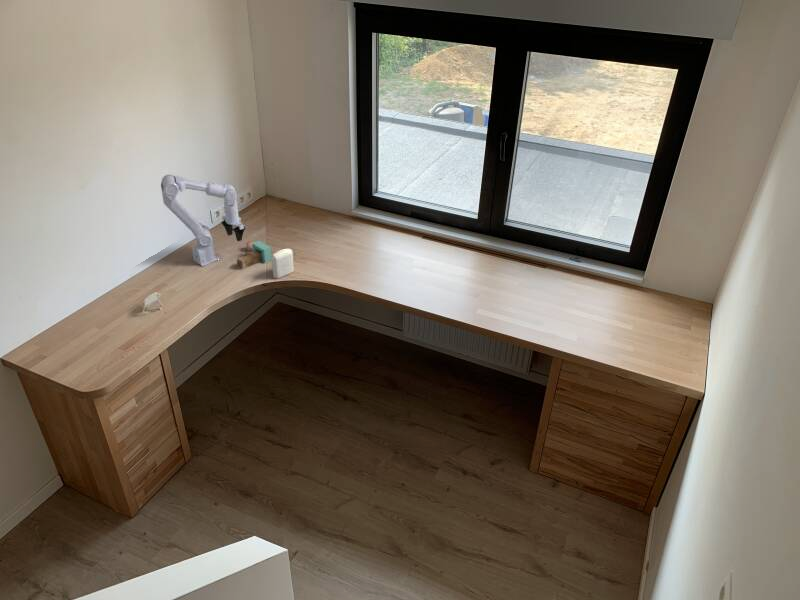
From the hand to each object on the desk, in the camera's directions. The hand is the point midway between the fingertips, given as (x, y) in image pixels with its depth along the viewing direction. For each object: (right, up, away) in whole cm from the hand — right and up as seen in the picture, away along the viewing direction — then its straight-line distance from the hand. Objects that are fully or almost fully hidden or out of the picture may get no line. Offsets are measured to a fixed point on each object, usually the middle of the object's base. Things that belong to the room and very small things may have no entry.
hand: (234, 237), depth 291 cm
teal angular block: (+12, -9, +4) cm, 16 cm away
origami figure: (-25, -33, -32) cm, 52 cm away
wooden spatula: (+9, -11, +1) cm, 15 cm away
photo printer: (+24, -18, -7) cm, 31 cm away
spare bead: (+6, -5, +10) cm, 12 cm away
